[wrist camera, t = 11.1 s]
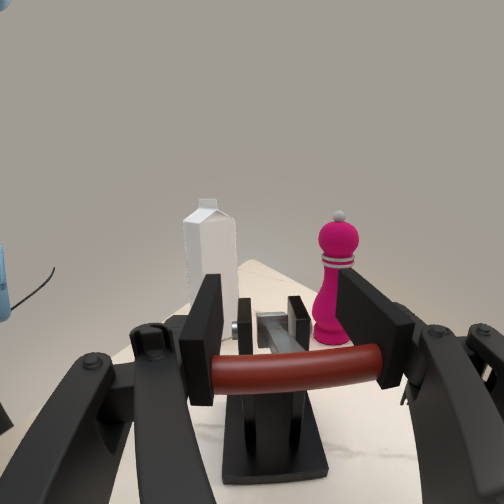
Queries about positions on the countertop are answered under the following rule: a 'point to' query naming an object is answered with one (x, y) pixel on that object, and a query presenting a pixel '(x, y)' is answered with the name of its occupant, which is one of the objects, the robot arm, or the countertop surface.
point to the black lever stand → (271, 419)
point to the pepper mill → (333, 277)
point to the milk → (212, 256)
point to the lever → (291, 364)
